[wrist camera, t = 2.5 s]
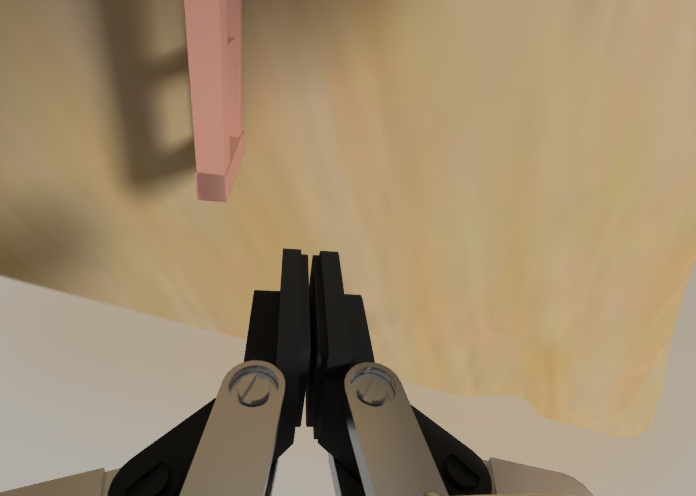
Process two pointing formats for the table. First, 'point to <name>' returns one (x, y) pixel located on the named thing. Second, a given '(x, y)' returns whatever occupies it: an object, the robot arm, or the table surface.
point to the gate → (215, 93)
